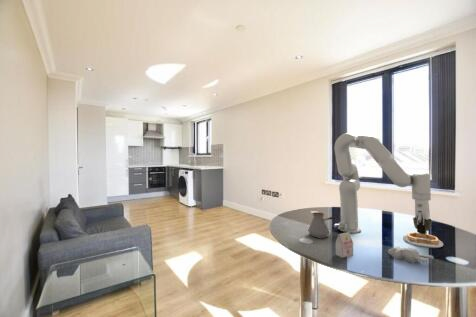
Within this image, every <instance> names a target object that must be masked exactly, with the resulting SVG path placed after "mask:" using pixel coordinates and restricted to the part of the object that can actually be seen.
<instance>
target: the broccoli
mask: <svg viewBox="0 0 476 317" xmlns="http://www.w3.org/2000/svg"><path fill="white" fill-rule="evenodd" d="M421 219H423V218H421ZM412 220H413V225H414V228H415V229H416V230H417V219H416V217H415V216H414V217H412ZM422 221H423V220H422ZM424 225H425V233H420V232H417V233H420V234H428V232H429V231H430V229H431V225H432V219H431V218H429V219H428V220H426V219H425V220H424Z"/></svg>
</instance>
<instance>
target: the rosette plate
mask: <svg viewBox="0 0 476 317" xmlns="http://www.w3.org/2000/svg"><path fill="white" fill-rule="evenodd" d="M402 238H403V241H404V242H405V243H408V244H410V245H412V246H417V247H419V248H425V249H427V248H428V249H441V247H442V248H443V247H444V243H443V241H441V240H440V239H439V238H438V237H437V236H435V235H432V234H428V233H427V234H420V233H418V232H415V231H414V232H407V233H406V234H405V235H403V236H402Z"/></svg>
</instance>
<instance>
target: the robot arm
mask: <svg viewBox="0 0 476 317" xmlns="http://www.w3.org/2000/svg"><path fill="white" fill-rule="evenodd" d="M350 148H355V149H362V150H365V151H367V153H368V154H369V155H370V156H371V157H372V159H373V160H374V161H375V162H376V163H377V165H378V166H379V167H380V168H381V169H382V171H383V172H384V173H385V175H386V176H387V178H389V179H390V181H391V182H393V184H394V185H396V186H397V187H399V188H406V187H409V186H411V199H412V200H414V213H415V214H414V217H416V219H417V229H416V231H417V232H416V233H418V232H420V233H425V225H424V220H425V219H426V220H428V219H429V218H430V217H431V216H430V214H431V213H430V203H429V202H430V201H431V200H432V196H431V193H432V191H431V175H430V174H429V173H427V172H406V171H405V170H404V169H403V168H402V167H401V166H400V165H399V164H398V163H397V161H396V160H395V157H394V156H393V154H392V153H391V151H390V150H388V149H387V148H386V146H385V145H384V144H383V143H382V142H381V141H380V139H379V137H377V136H375V135H372V134H370V135H362V134H356V133H355V134H354V133H351V132H344V133H343V134H341V135H339V136H338V137H337V139H336V141H335V142H334V148H333V149H334V156H335V160H336V161H335V162H336V167H337V172H338V174H339V175H340V176H341V177H342V181H341V182H340V184H339V186H338V188H339V198H340V202H339V203H340V215H341V217H340V221H339V222H338V223H334V224H333V227H334V228H337V229H338V230H340V232H341V231H342V232H343V233H347V232H350V234H353V233H354V234H358V233H361V232H362V228H361V227H359V210H358V206H359V205H358V195H357V194H358V191H359V190H360V187H361V182H360V181H361V180H360V176H359V171H358V168H357V165H356V163H354V162H353V161H352V158H351V152H350ZM342 217H343V219H342ZM421 218H423V219H421ZM341 219H342V220H341ZM430 219H431V218H430ZM422 220H423V221H422Z"/></svg>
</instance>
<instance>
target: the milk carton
mask: <svg viewBox="0 0 476 317" xmlns="http://www.w3.org/2000/svg"><path fill="white" fill-rule="evenodd" d="M335 255H336V256H338V257H340V258H342V259H344V258H347V257H351V256H354V241H353V238H352V235H351V233H350V232H343V233H338V235H337V238H336V239H335Z"/></svg>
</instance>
